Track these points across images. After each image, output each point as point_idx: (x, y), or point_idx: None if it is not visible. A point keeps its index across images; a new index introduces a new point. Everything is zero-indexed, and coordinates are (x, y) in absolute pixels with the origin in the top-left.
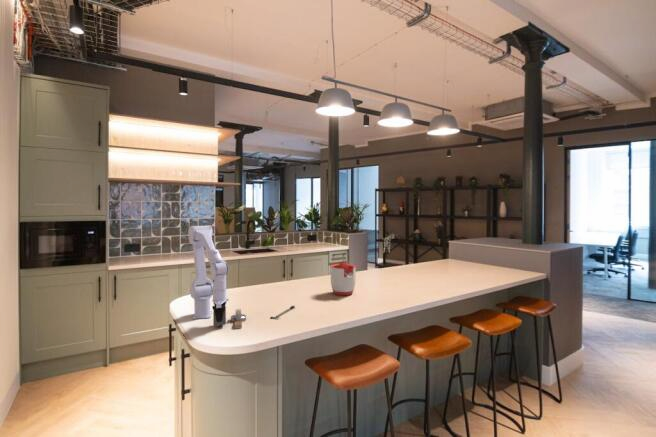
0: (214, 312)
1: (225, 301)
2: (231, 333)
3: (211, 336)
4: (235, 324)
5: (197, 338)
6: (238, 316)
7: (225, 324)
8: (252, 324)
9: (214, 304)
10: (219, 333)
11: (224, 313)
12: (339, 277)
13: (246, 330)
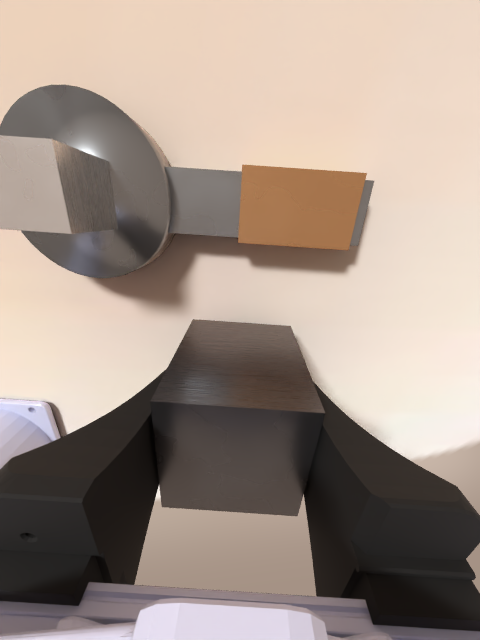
0: (298, 500)
1: (60, 513)
2: (439, 279)
3: (416, 398)
4: (329, 242)
5: (403, 454)
6: (110, 195)
7: (289, 326)
8: (285, 29)
9: (134, 571)
10: (388, 356)
11: (315, 400)
12: None
13: (446, 132)
